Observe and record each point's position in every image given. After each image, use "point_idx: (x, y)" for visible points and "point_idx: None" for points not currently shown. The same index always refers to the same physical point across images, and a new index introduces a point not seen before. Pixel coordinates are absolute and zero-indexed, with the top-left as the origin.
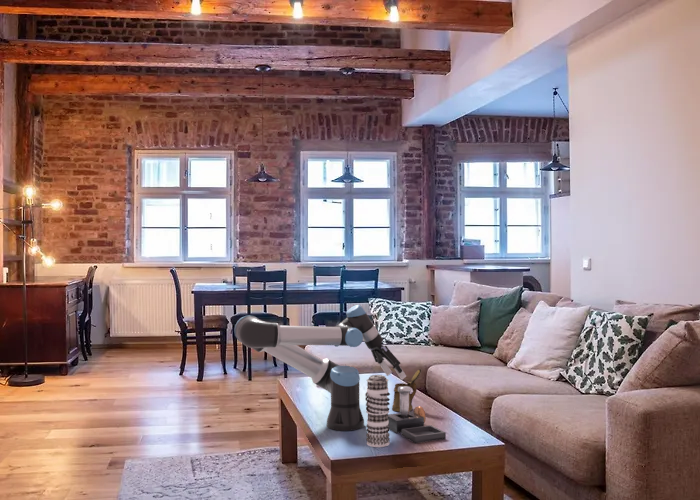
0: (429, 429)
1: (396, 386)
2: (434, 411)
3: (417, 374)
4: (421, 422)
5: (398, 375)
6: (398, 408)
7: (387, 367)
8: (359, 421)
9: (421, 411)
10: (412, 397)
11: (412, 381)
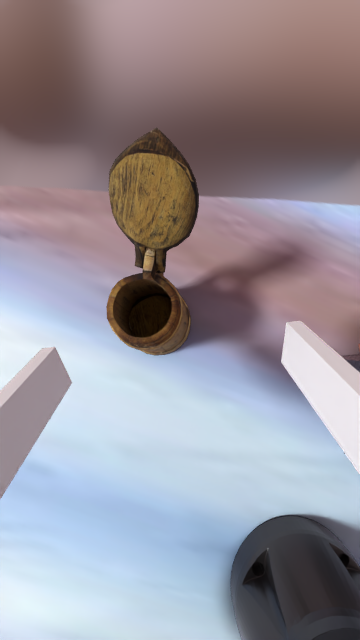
0: None
1: (152, 343)
2: (213, 235)
3: (170, 194)
4: None
5: (304, 392)
6: (181, 343)
7: (21, 399)
8: (353, 568)
9: None
10: (162, 275)
11: (165, 249)
